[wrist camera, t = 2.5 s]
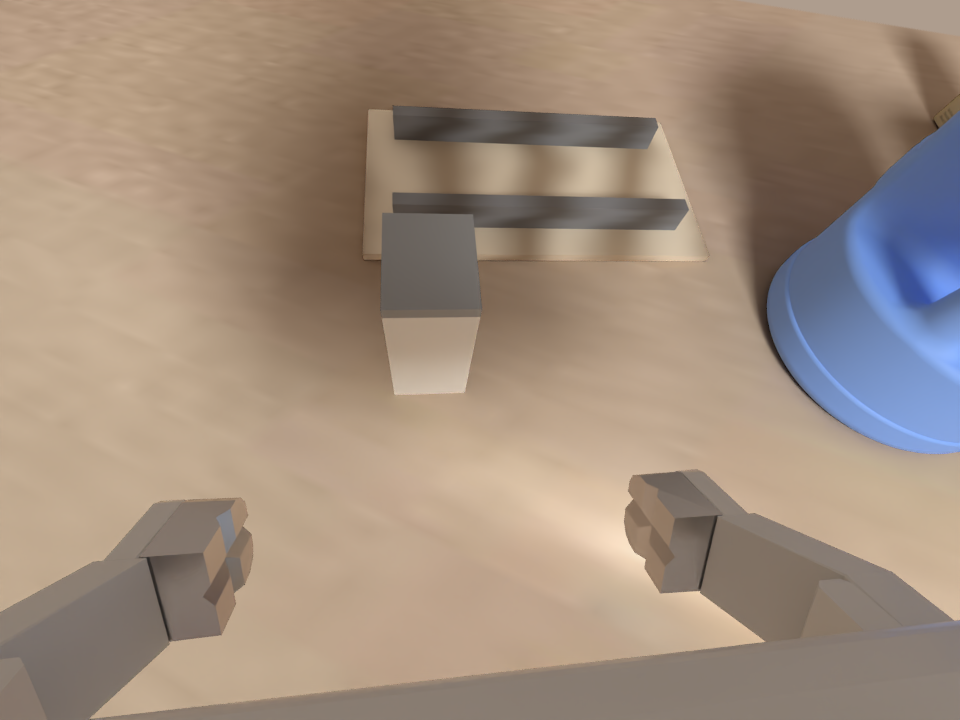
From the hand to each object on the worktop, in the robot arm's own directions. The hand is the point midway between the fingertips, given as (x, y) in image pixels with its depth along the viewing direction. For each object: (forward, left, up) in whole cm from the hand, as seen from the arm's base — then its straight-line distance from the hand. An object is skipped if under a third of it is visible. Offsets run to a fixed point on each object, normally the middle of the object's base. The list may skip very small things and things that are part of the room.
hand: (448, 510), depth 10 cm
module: (0, +11, -14) cm, 18 cm away
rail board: (+8, +25, -14) cm, 30 cm away
